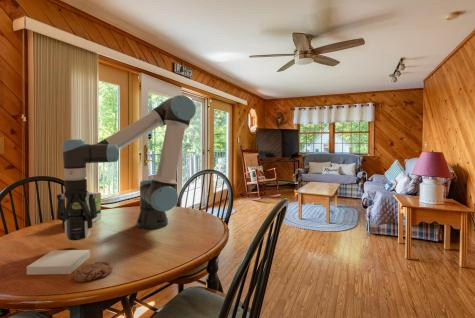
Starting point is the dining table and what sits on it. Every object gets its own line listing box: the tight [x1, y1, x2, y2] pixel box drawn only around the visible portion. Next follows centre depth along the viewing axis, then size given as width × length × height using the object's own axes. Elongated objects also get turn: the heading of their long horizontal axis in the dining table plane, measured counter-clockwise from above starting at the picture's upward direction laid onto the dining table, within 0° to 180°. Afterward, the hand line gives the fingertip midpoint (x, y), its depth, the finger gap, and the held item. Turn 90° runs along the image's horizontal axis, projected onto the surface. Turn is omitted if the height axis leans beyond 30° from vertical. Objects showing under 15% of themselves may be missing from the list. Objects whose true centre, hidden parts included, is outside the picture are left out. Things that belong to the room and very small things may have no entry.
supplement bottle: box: [67, 207, 86, 242], centre depth 106 cm, size 7×7×12 cm
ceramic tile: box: [26, 249, 91, 276], centre depth 91 cm, size 13×13×2 cm
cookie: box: [73, 261, 113, 283], centre depth 85 cm, size 10×11×3 cm
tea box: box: [65, 191, 102, 223], centre depth 139 cm, size 15×10×15 cm
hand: (78, 236), depth 107 cm, fingers closed on supplement bottle, 7 cm apart
